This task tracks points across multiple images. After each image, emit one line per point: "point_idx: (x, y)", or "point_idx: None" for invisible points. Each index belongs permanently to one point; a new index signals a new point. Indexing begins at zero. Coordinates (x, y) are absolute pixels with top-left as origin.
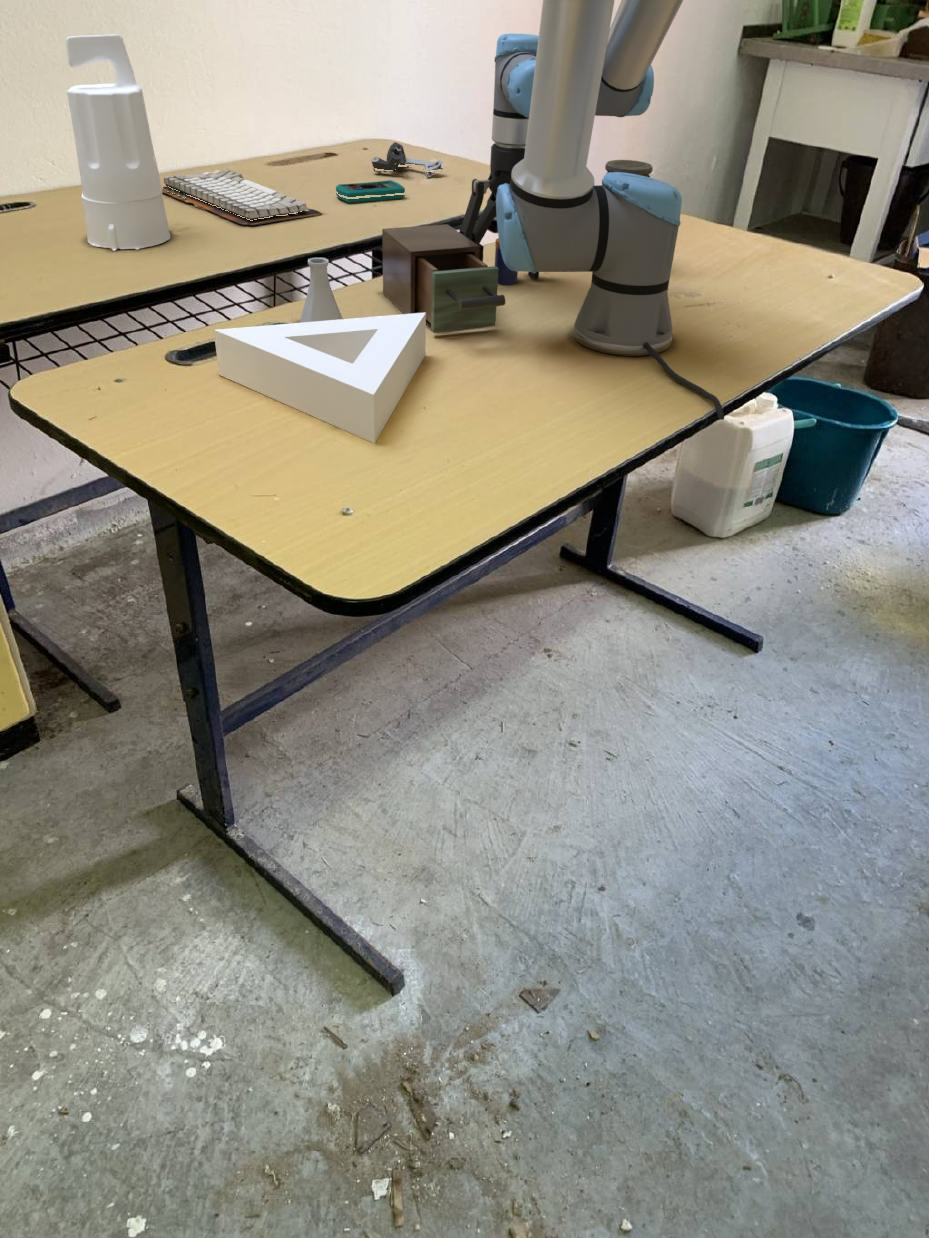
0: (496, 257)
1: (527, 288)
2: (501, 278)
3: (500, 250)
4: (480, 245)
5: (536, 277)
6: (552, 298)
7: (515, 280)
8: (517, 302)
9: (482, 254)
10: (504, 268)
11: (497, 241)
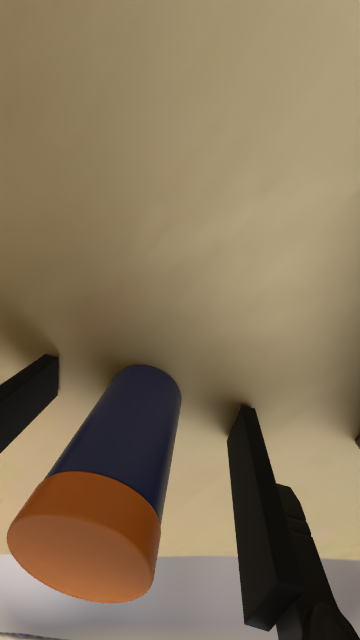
0: (167, 481)
1: (120, 311)
2: (172, 395)
3: (156, 507)
4: (282, 596)
5: (48, 358)
6: (95, 163)
7: (127, 371)
8: (259, 193)
9: (268, 520)
10: (160, 415)
11: (149, 584)
